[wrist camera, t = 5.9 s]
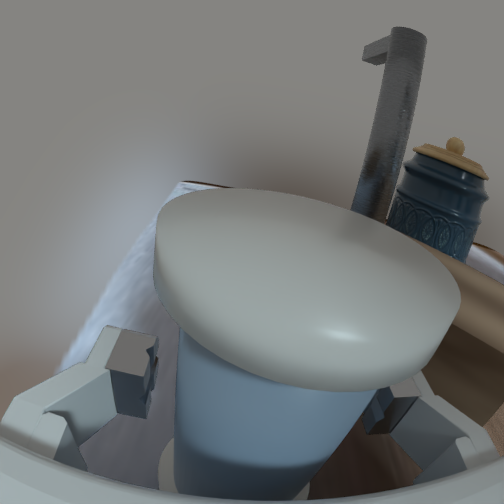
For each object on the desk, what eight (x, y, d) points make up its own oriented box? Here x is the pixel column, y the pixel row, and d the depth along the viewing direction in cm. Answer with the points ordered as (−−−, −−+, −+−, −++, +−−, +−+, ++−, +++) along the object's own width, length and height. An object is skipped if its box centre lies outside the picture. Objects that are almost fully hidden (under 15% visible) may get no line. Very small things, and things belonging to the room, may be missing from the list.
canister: (460, 294, 32) (509, 154, 25) (368, 253, 38) (408, 114, 31) (457, 264, 43) (492, 157, 35) (386, 233, 48) (416, 127, 41)
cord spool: (234, 409, 14) (291, 185, 10) (328, 485, 11) (473, 267, 6) (130, 466, 10) (103, 198, 6) (229, 571, 7) (403, 419, 2)
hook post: (342, 229, 21) (385, 54, 16) (373, 271, 15) (433, 39, 10) (317, 224, 20) (359, 44, 16) (341, 266, 15) (401, 23, 10)
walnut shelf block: (365, 302, 27) (392, 228, 24) (478, 368, 20) (521, 294, 17) (288, 356, 19) (322, 253, 16) (448, 460, 12) (528, 368, 9)
